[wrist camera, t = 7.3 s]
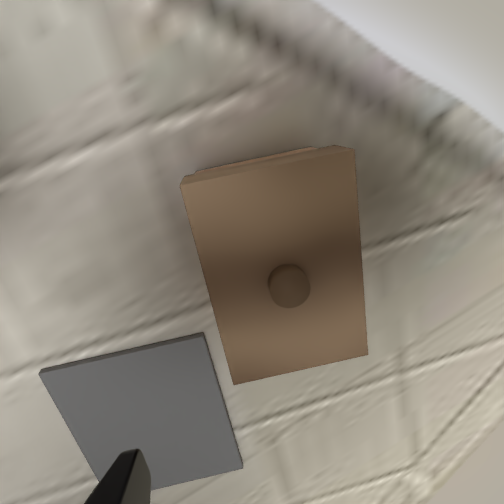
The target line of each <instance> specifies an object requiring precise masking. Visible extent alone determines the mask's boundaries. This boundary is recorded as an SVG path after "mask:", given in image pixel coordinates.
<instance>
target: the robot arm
mask: <svg viewBox="0 0 504 504" xmlns="http://www.w3.org/2000/svg"><path fill="white" fill-rule="evenodd" d="M150 493H151V474H150V470H149V468H148V465H147V463H146V460H145V458H144V455H143V453H142V451H141V450H140V449H139V448H136V449H131V450H126V451H123V452H121V453H120V454H119V455H118V457H117V458H116V460H115V461H114V462H113V464H112V465H111V467H110V468H109V469H108V471H107V472H106V473H105V475H104V476H103V478H102V479H101V480H100V482H99V483H98V485H97V486H96V487H95V489H94V490H93V492H92V493H91V494H90V496H89V497H88V499H87V500H86V501H85V503H84V504H150Z"/></svg>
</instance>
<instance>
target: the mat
mask: <svg viewBox="0 0 504 504" xmlns="http://www.w3.org/2000/svg"><path fill="white" fill-rule="evenodd" d="M39 376H40V378H41V380H42V382H43V383H44V385H45V387H46V389H47V390H48V392H49V394H50V396H51V398H52V399H53V401H54V403H55V405H56V406H57V408H58V410H59V412H60V414H61V415H62V417H63V419H64V421H65V422H66V424H67V426H68V428H69V429H70V431H71V433H72V435H73V437H74V438H75V440H76V442H77V444H78V445H79V447H80V449H81V451H82V453H83V454H84V456H85V458H86V460H87V461H88V463H89V465H90V467H91V469H92V470H93V472H94V474H95V476H96V477H97V479H98V481H99V482H100V480H101V479H102V478H103V476H104V475H105V473H106V472H107V471H108V469H109V468H110V467H111V465H112V464H113V462H114V461H115V460H116V458H117V457H118V455H119V454H120V453H121V452H123V451H126V450H131V449H136V448H139V449H140V450H141V451H142V453H143V455H144V458H145V460H146V463H147V465H148V468H149V470H150V474H151V490H155V489H159V488H163V487H167V486H171V485H175V484H180V483H184V482H188V481H192V480H196V479H201V478H205V477H209V476H213V475H217V474H222V473H226V472H230V471H234V470H238V469H243V463H242V459H241V456H240V453H239V449H238V446H237V443H236V439H235V436H234V433H233V430H232V426H231V423H230V420H229V416H228V413H227V410H226V406H225V403H224V400H223V396H222V393H221V390H220V387H219V383H218V380H217V377H216V373H215V370H214V367H213V363H212V360H211V357H210V353H209V350H208V347H207V343H206V340H205V337H204V334H203V333H200V334H195V335H191V336H186V337H182V338H178V339H173V340H169V341H164V342H160V343H156V344H151V345H147V346H142V347H138V348H134V349H129V350H125V351H120V352H116V353H112V354H107V355H103V356H98V357H94V358H90V359H85V360H81V361H76V362H72V363H68V364H63V365H59V366H54V367H50V368H46V369H41V371H40V372H39Z"/></svg>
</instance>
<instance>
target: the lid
mask: <svg viewBox="0 0 504 504" xmlns="http://www.w3.org/2000/svg"><path fill="white" fill-rule="evenodd" d="M180 189H181V193H182V196H183V200H184V204H185V207H186V211H187V215H188V218H189V222H190V226H191V229H192V233H193V237H194V241H195V244H196V248H197V252H198V255H199V259H200V263H201V266H202V270H203V274H204V278H205V281H206V285H207V289H208V292H209V296H210V300H211V303H212V307H213V311H214V314H215V318H216V322H217V326H218V329H219V333H220V337H221V340H222V344H223V348H224V351H225V355H226V359H227V363H228V366H229V370H230V374H231V377H232V381H233V385H236V384H241V383H245V382H250V381H254V380H259V379H263V378H267V377H272V376H276V375H281V374H285V373H289V372H294V371H298V370H303V369H307V368H312V367H316V366H320V365H325V364H329V363H334V362H338V361H343V360H347V359H351V358H356V357H360V356H365V355H368V346H367V331H366V316H365V301H364V286H363V271H362V256H361V241H360V226H359V211H358V197H357V182H356V167H355V152H354V149H351V148H346V147H341V146H336V145H332V146H328V147H323V148H318V149H313V150H308V151H303V152H299V153H294V154H289V155H284V156H279V157H275V158H270V159H265V160H260V161H255V162H250V163H246V164H241V165H236V166H231V167H226V168H221V169H217V170H212V171H207V172H202V173H197V174H192V175H188V176H184V178H183V180H182V182H181V184H180Z"/></svg>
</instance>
